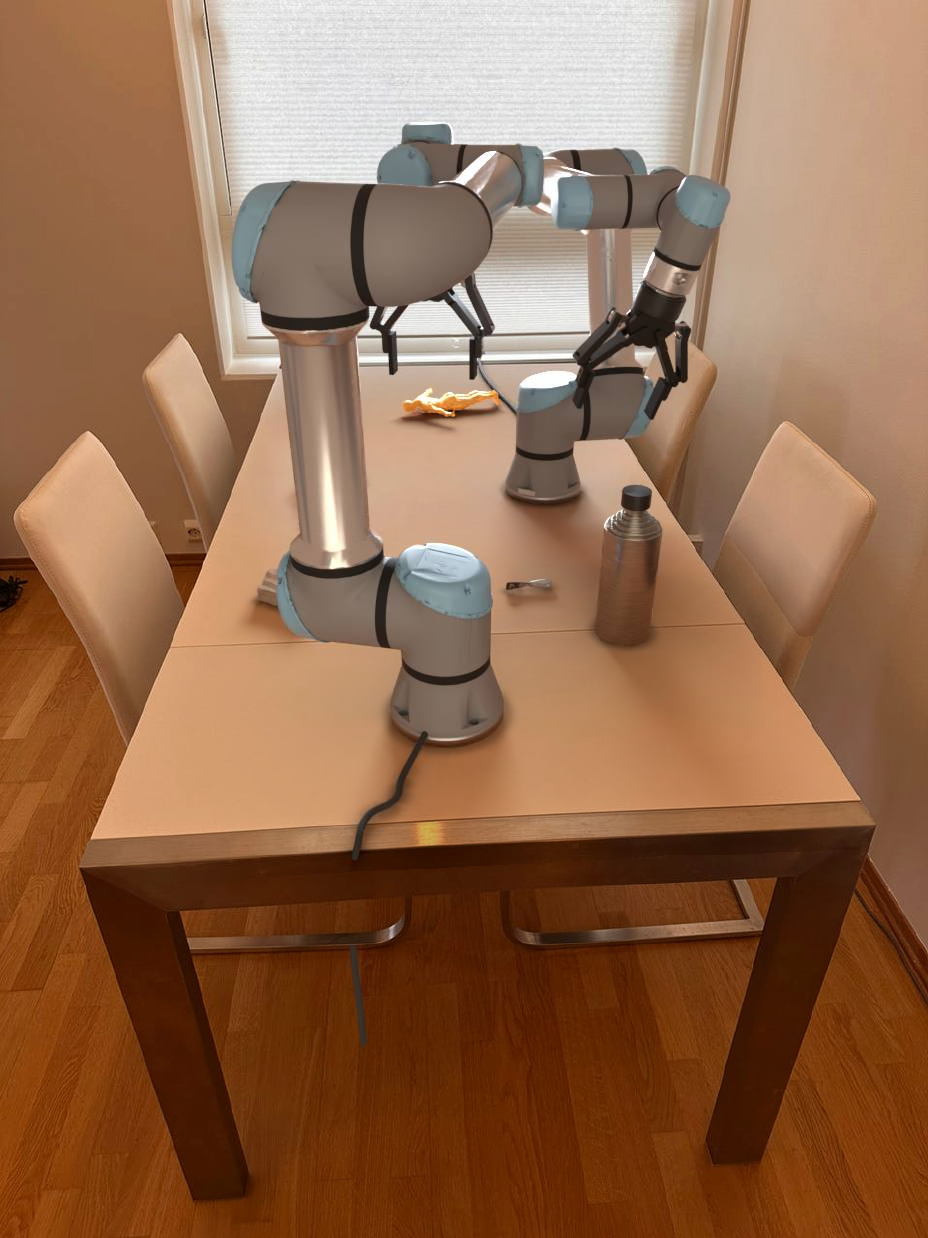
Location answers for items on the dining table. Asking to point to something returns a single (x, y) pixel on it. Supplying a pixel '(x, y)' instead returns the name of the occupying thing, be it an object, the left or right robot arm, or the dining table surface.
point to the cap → (636, 498)
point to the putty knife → (529, 584)
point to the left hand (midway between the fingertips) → (433, 375)
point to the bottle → (628, 577)
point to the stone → (268, 588)
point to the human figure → (448, 402)
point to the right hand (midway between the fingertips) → (612, 410)
